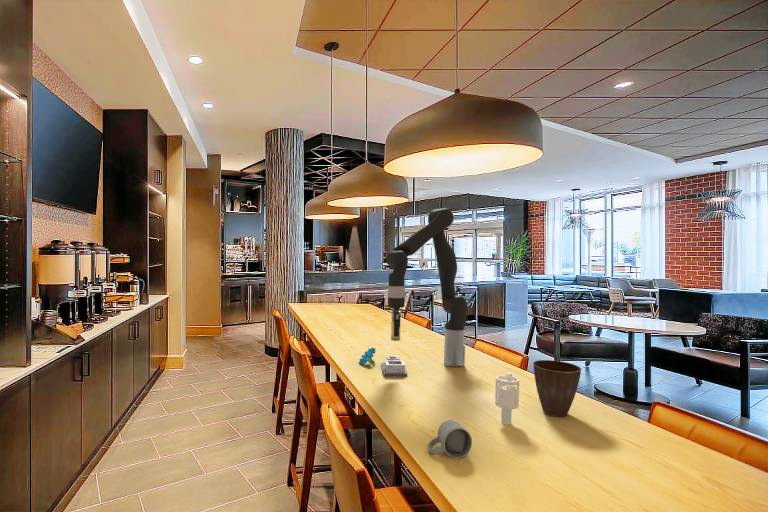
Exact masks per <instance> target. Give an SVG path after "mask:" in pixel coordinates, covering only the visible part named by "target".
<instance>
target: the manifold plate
mask: <svg viewBox="0 0 768 512" xmlns="http://www.w3.org/2000/svg"><path fill="white" fill-rule="evenodd" d="M380 367H381V369H382V374H383V377H393V376H407V377H408V373H407V370H406V364H405V362H404V360H402V359H401V360H400V357H399V356H398V355H397V356H396V355H393V356H392V355H386V359H385V360H384V362H381V363H380Z"/></svg>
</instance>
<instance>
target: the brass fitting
mask: <svg viewBox="0 0 768 512" xmlns="http://www.w3.org/2000/svg"><path fill="white" fill-rule="evenodd" d="M395 324H398V322H396V323H395ZM390 325H391V326H390V327H391V328H390V331H391V332H390V340H391V341H393V342H394V341H395V342H397V341H401V326H400V327H399V336H398V337H395V336H394V327H393V326H394V323H393V322H392V320H391V324H390Z"/></svg>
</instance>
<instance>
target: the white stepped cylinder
mask: <svg viewBox="0 0 768 512" xmlns="http://www.w3.org/2000/svg"><path fill="white" fill-rule="evenodd" d="M503 387H506V389H505V388H503ZM494 395H495V398H494V402H495V403H494V404H495V406H496V407H498V408H501V413H500V414H501V420H500V421H501V422H500V423H501V424H503V425H506V426H507V425H508V426H509V425H512V413H513V412H512V411H513V410H516V409H518V408H519V404H520V403H519V401H520V399H519V398H520V379H519V378H518V377H516V376H513V373H512V372H509V371H508V372H507V373H506V375H504V374H503V375H497V376H496V377H495V394H494Z"/></svg>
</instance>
